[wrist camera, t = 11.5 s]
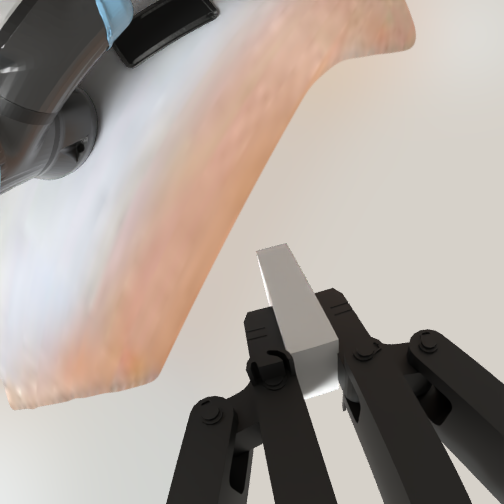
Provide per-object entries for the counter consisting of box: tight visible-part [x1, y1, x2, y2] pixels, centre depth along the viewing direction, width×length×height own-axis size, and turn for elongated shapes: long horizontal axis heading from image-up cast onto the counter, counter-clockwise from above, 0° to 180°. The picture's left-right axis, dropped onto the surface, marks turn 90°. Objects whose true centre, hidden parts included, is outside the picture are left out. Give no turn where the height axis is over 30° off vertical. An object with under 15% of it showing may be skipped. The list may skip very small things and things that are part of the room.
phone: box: [112, 0, 217, 68], centre depth 28 cm, size 8×1×15 cm
